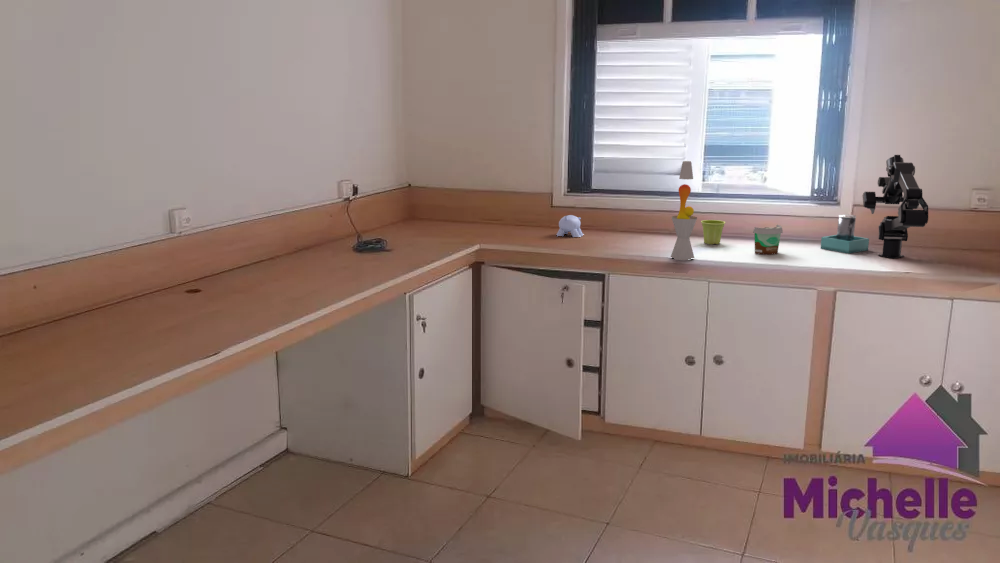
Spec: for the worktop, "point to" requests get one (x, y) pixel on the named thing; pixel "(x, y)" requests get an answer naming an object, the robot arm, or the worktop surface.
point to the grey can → (846, 227)
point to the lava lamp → (684, 218)
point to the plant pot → (712, 231)
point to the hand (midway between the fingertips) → (885, 213)
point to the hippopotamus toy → (570, 226)
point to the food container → (767, 240)
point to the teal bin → (844, 244)
